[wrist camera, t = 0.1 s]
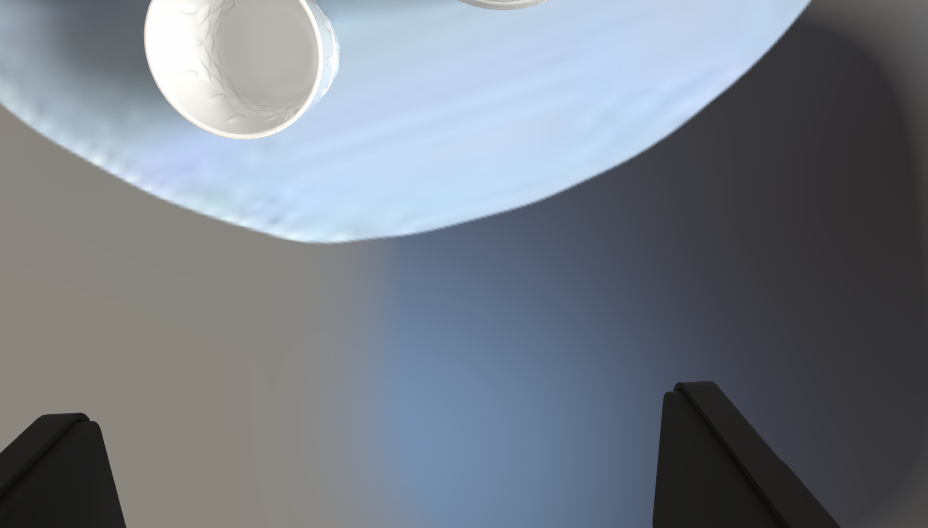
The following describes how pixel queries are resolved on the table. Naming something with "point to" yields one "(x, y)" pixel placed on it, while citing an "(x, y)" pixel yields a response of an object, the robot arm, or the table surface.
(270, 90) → the white cup
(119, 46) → the table surface
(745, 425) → the robot arm
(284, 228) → the table surface
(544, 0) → the coffee cup
